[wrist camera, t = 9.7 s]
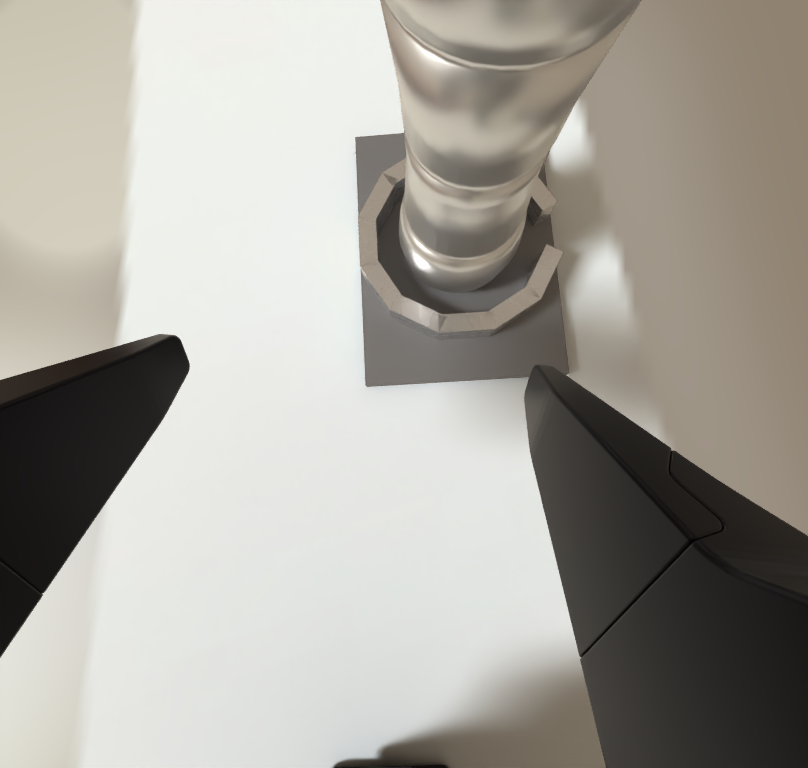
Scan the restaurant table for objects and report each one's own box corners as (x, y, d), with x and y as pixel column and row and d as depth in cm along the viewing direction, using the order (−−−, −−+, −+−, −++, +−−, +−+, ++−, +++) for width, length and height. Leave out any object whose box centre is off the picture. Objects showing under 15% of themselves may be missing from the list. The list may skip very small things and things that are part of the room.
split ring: (560, 332, 20) (572, 323, 19) (367, 344, 21) (363, 337, 19) (539, 156, 22) (549, 135, 20) (359, 171, 22) (355, 151, 21)
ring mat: (564, 374, 21) (569, 373, 20) (367, 386, 21) (365, 385, 21) (535, 129, 23) (539, 121, 22) (356, 144, 23) (355, 137, 23)
